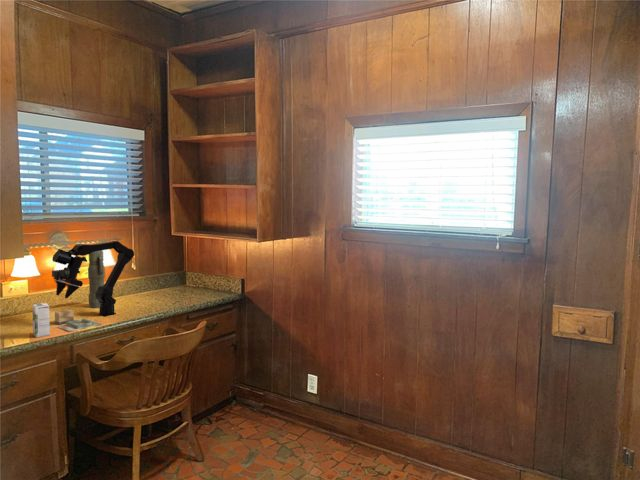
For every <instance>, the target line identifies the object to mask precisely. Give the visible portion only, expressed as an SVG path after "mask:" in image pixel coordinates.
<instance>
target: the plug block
mask: <svg viewBox="0 0 640 480" xmlns="http://www.w3.org/2000/svg"><path fill="white" fill-rule="evenodd" d="M74 312H75V311H74V310H73V309H64V310H58V311H54V324H55V325H58V326H63V325H66V322H69V321H74V320H75V319H74V318H75V316H74V315H75V313H74Z"/></svg>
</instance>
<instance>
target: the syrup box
mask: <svg viewBox="0 0 640 480" xmlns="http://www.w3.org/2000/svg"><path fill="white" fill-rule="evenodd" d="M50 331H51V330H50V305H49V304H48V303H46V302H42V303H35V304H32V334H33V336H34V337H35V338H36V337H37V338H40V337H42V338H43V337H47V336H50V334H51V333H50Z"/></svg>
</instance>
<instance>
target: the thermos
mask: <svg viewBox="0 0 640 480" xmlns="http://www.w3.org/2000/svg"><path fill="white" fill-rule="evenodd" d="M88 262H89V263H88V268H87V275H88V276H87V277H88V281H89V283H88V284H89V285H88V286H89V293H88V307H89V308H90V309H100V304H102V303H99V301H98V300H97V299H96V297H95V295H96V293H95V292H96V291H97V290H98V287H99V286H101V287H102V286H103V285H104V284H105V277H106V268H105V265H104V250H101V251H95V252H92V253H91V254H88Z"/></svg>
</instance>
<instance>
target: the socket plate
mask: <svg viewBox="0 0 640 480" xmlns="http://www.w3.org/2000/svg"><path fill="white" fill-rule="evenodd" d="M102 325H103V323H101V322H98V321H96V320H92V319H86V318H80V319H74V321H69V322H66V324H63V325H58V326H57V328H58V329H61V330H63V331H65V332H68V333H71V332H76V331H81V330H85V329H89V328H95V327H98V326H102Z"/></svg>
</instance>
